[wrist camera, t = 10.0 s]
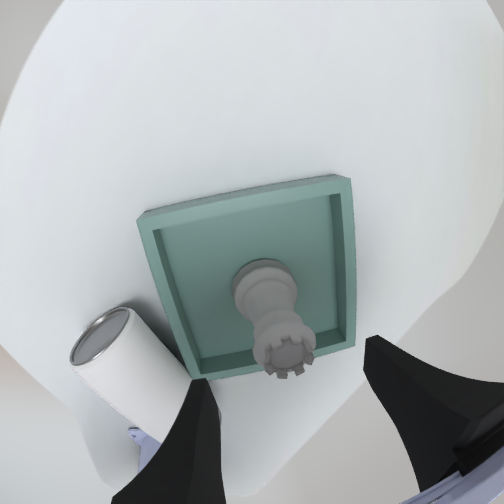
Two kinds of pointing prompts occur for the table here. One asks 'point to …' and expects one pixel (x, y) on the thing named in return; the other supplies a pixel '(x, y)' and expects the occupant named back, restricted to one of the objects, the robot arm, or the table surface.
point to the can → (132, 371)
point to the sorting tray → (243, 253)
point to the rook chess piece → (274, 317)
